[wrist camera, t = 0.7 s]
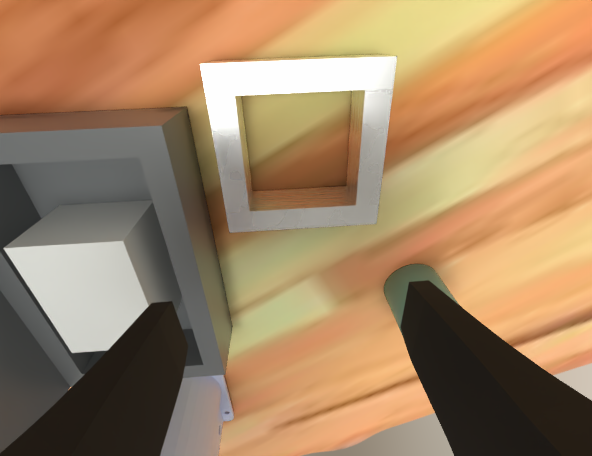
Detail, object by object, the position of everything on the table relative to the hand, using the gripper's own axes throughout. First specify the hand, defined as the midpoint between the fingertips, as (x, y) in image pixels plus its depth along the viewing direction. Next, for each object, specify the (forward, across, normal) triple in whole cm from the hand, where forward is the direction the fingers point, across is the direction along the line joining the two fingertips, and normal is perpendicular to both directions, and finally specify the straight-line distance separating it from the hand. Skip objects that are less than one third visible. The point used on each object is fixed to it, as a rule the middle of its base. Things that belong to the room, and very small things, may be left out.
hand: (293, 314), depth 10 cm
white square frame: (+10, -1, -3) cm, 10 cm away
